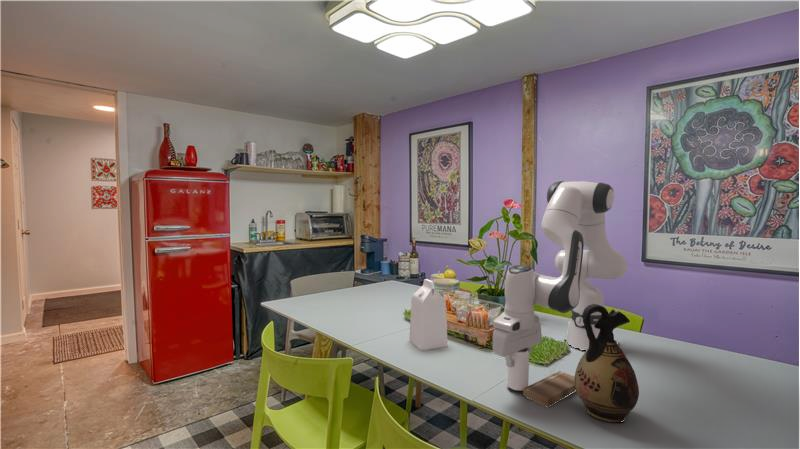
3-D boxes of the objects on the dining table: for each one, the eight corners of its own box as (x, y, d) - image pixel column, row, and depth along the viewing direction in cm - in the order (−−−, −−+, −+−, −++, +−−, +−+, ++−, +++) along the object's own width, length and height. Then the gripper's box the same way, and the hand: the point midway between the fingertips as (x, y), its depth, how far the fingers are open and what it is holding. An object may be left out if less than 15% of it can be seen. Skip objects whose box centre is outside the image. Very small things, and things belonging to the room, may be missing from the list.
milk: (447, 346, 152) (448, 282, 150) (421, 350, 147) (422, 284, 146) (433, 336, 163) (434, 276, 161) (409, 340, 159) (409, 278, 157)
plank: (559, 378, 125) (559, 370, 125) (583, 387, 118) (584, 379, 118) (523, 396, 113) (523, 388, 113) (547, 408, 106) (548, 399, 106)
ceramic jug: (614, 398, 112) (619, 298, 110) (651, 429, 97) (656, 313, 95) (558, 398, 111) (561, 298, 110) (585, 430, 96) (589, 313, 94)
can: (523, 381, 120) (524, 344, 120) (531, 391, 114) (532, 352, 113) (503, 381, 120) (504, 344, 120) (510, 391, 114) (511, 352, 113)
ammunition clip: (463, 341, 158) (464, 313, 157) (465, 340, 159) (466, 312, 158) (488, 347, 151) (489, 317, 151) (490, 345, 153) (490, 316, 152)
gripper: (529, 311, 125) (528, 352, 125) (489, 322, 112) (488, 367, 113) (547, 315, 120) (546, 358, 120) (506, 327, 107) (505, 375, 108)
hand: (517, 363), depth 117 cm, fingers closed on can, 6 cm apart
